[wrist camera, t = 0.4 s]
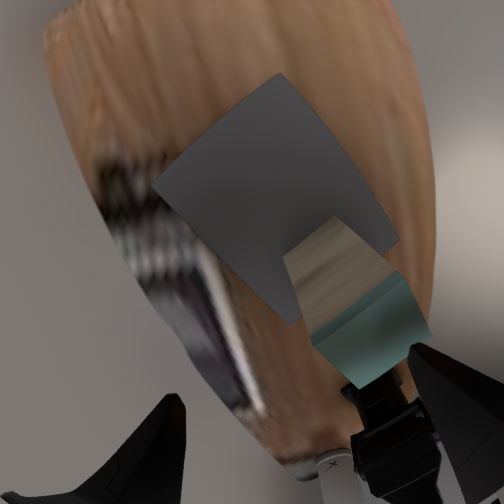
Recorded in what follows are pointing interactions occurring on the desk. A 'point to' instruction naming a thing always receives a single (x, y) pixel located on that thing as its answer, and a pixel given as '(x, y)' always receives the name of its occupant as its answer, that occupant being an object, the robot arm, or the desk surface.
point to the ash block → (354, 303)
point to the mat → (270, 189)
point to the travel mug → (339, 478)
